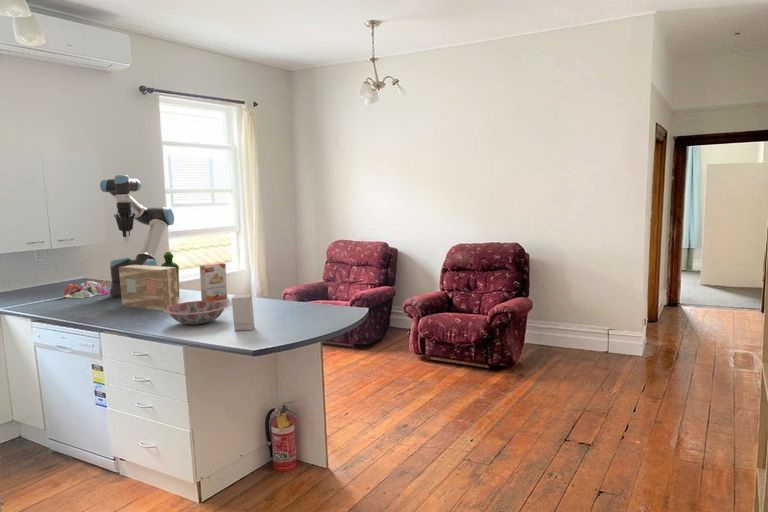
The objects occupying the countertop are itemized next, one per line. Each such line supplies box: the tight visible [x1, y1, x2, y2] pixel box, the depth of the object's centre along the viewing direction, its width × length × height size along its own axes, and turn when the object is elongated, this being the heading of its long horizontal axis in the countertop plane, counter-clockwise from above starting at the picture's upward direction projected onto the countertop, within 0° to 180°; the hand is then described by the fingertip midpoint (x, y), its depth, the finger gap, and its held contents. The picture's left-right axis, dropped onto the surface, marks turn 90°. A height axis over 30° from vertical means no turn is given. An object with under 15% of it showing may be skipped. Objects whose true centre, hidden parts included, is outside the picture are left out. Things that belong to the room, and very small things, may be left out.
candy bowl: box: [63, 279, 111, 299], centre depth 358 cm, size 25×24×9 cm
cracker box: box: [199, 262, 228, 301], centre depth 330 cm, size 14×6×21 cm, turn 140°
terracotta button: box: [145, 279, 157, 295], centre depth 309 cm, size 3×8×8 cm, turn 62°
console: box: [119, 265, 180, 311], centre depth 316 cm, size 10×34×22 cm, turn 62°
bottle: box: [160, 250, 180, 298], centre depth 337 cm, size 11×11×28 cm
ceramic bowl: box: [164, 300, 229, 325], centre depth 275 cm, size 29×29×8 cm
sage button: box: [126, 278, 137, 293], centre depth 317 cm, size 3×8×8 cm, turn 62°
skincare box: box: [231, 294, 255, 331], centre depth 259 cm, size 8×7×16 cm
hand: (126, 242), depth 333 cm, fingers closed
